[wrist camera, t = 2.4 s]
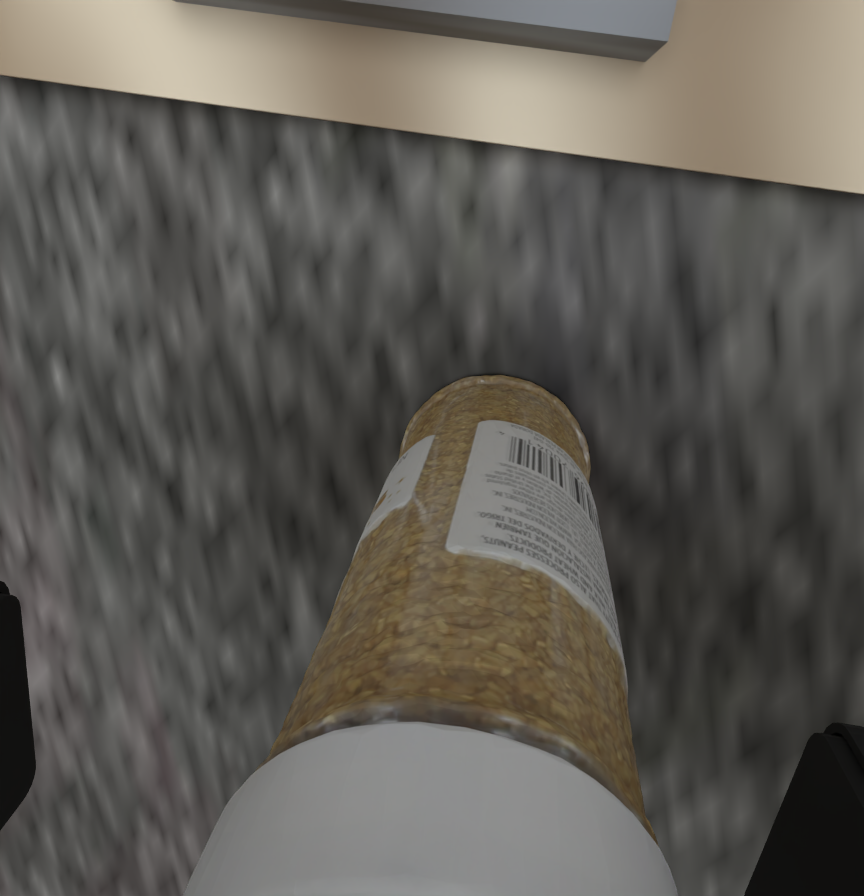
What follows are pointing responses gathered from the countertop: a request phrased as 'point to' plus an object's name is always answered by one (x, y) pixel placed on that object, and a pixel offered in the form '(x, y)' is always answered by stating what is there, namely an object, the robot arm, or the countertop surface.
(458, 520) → the sprinkles bottle
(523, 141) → the board
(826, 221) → the countertop surface
